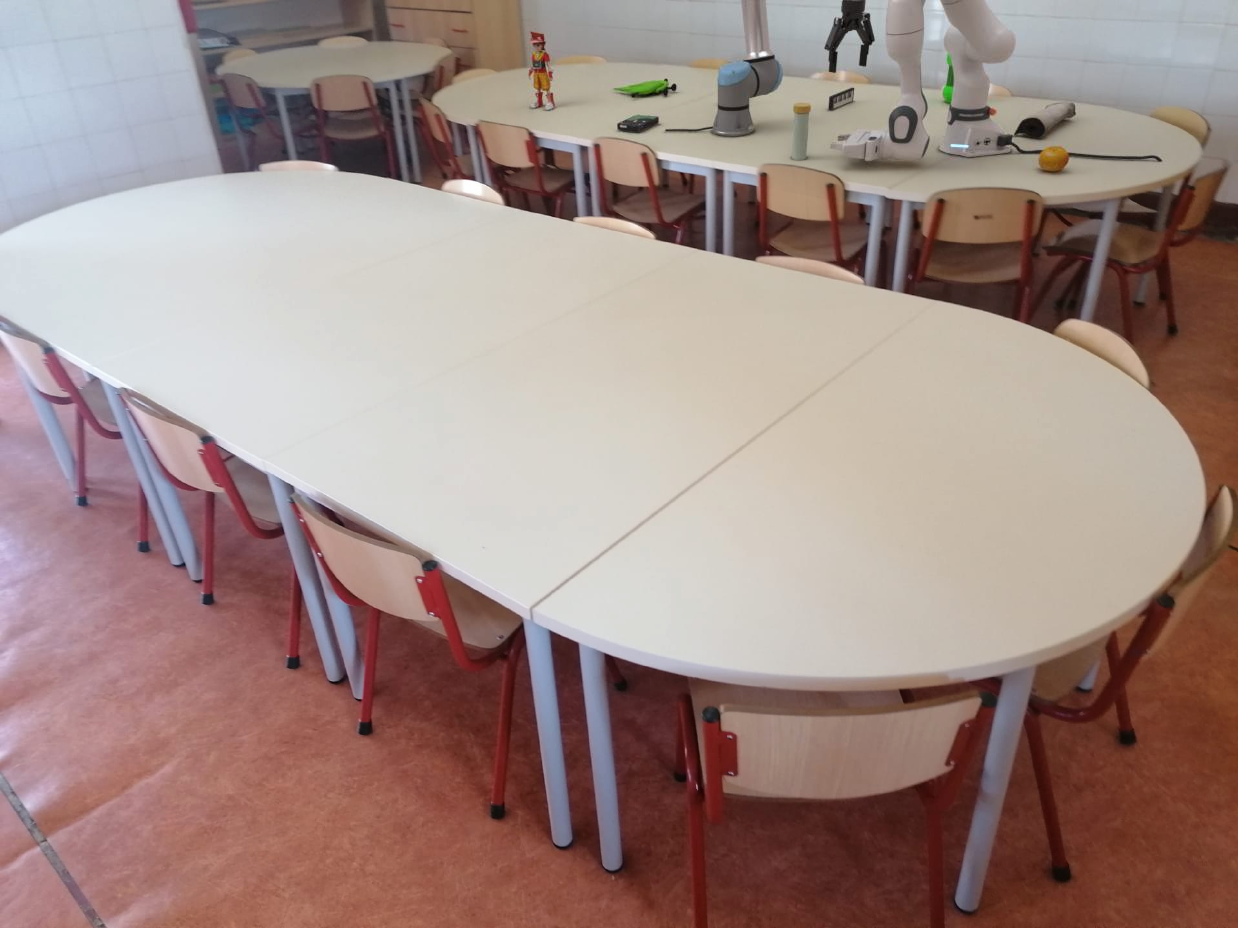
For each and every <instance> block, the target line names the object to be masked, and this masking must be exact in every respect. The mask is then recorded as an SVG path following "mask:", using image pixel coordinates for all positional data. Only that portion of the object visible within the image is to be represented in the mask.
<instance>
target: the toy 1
mask: <svg viewBox="0 0 1238 928" xmlns="http://www.w3.org/2000/svg"><path fill="white" fill-rule="evenodd" d="M529 33H530V35H531V36H528V37H527V38H528V39H529V40H528V41H527V43H529V44H530V43H531V44H532V48H533V50H534V51H533V52H532V55H531V58H530V59H531V63H530V66H528V74H527V75H528V76H527V77H528V79H529V80H531V75H532V74H533V84H532V85H533V86H532V87H533V88H534V89H535V90H536V92H534V95H535V97H536V100H535V101H533V102H531V105H530V108H531V109H535V108H538V107H542V106H544V101H543V100H544V99H543V95H544V92H546V94H545V97H546V99H547V103H546V104H545V106H544V110H546V111H549V110H553V109H554V107H555V106H556V105H555V99H554V92H551V91H550V90H551V86H552V84H551V82H552V81H553V80H554V77H553V73H554V71H555V70H554V69H552V68H551V63H550V61H551V59H550V58H551V57H550V54H549V53H548V52H547V50H546V48H545V46H546V44H547V41H545V35H544V33H543V32H542V33H539V32H535V31H529Z"/></svg>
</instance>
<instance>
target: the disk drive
mask: <svg viewBox="0 0 1238 928" xmlns="http://www.w3.org/2000/svg"><path fill="white" fill-rule="evenodd" d="M659 120H660V119H659V116H655V115H644V114H643V115H641V114H636V115H633V116H630V117H628V118H626V119H624V120H621V121H619V122H618V123H616V126H617V127H616V128H617V130H618V131H624V132H631V133H642V132H644V131H646V130H647V129H650V128H653V127H654V126H656V125H657V124H659V123H660V121H659Z"/></svg>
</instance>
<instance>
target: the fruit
mask: <svg viewBox="0 0 1238 928" xmlns="http://www.w3.org/2000/svg"><path fill="white" fill-rule="evenodd" d="M1042 150H1043V151H1042V152H1041V153H1039V156H1038V158H1037V159H1038V162H1037V163H1038V166H1039V167H1040V169H1042V170H1044V171H1046V172H1059V171H1062V170H1063V169H1064V168H1065V167H1066V166H1067V165H1068V163H1069V160H1070V155H1069V154H1068V152H1069V151H1068V150H1067V149H1066V148H1064V147H1062V146H1060V145H1059V146H1058V145H1052V146H1049V147H1045V148H1043V149H1042Z"/></svg>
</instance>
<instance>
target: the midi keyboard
mask: <svg viewBox="0 0 1238 928" xmlns="http://www.w3.org/2000/svg"><path fill="white" fill-rule="evenodd" d="M854 95H855V87H849V88H847V89H845V90H842V91H840V92H837V93H835V94H832V95H830V96H829V97H828V107H827V109H828V111H832V110H834V109H836V108H839V107H841V106H843V105H845V104H849V103H851V102H853V101H854V97H855V96H854Z"/></svg>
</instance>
